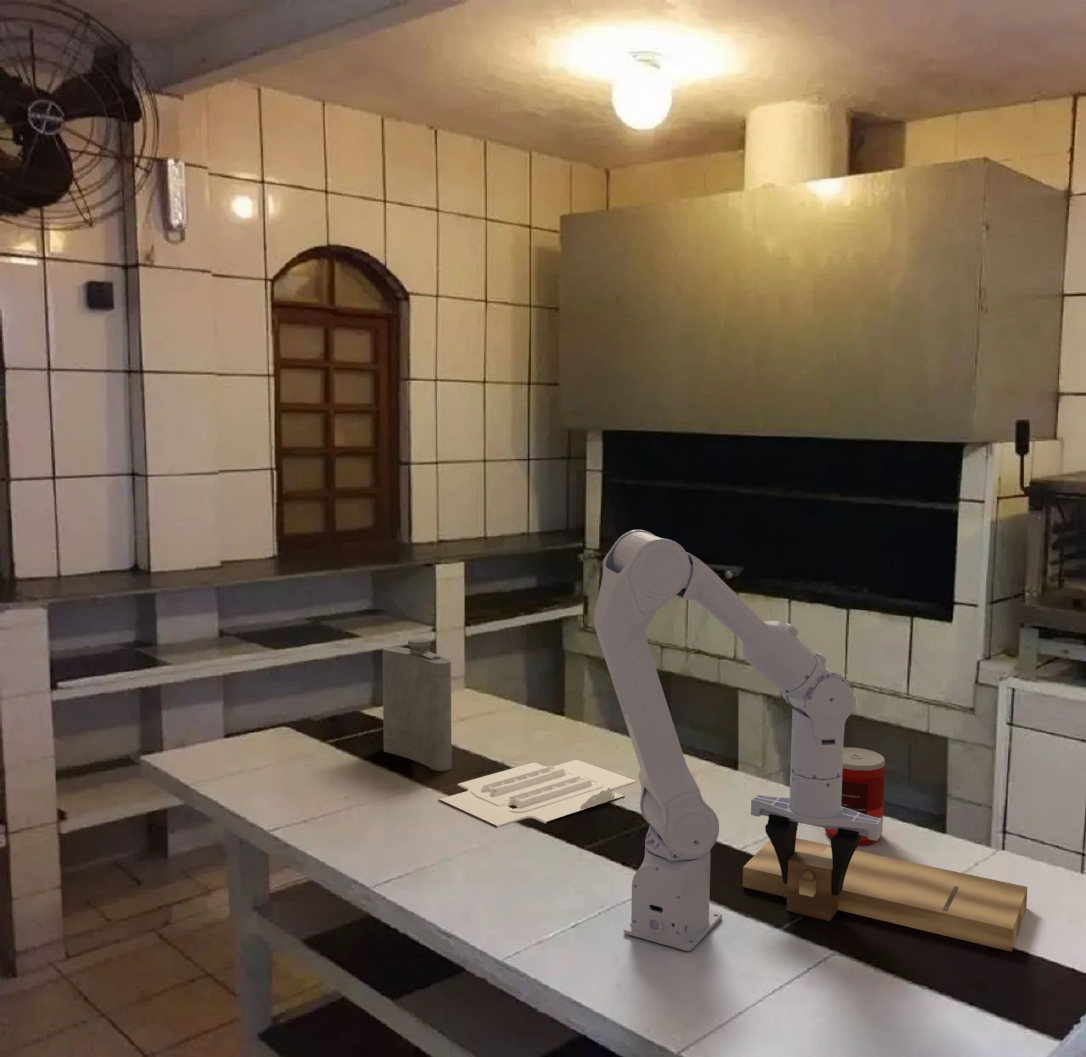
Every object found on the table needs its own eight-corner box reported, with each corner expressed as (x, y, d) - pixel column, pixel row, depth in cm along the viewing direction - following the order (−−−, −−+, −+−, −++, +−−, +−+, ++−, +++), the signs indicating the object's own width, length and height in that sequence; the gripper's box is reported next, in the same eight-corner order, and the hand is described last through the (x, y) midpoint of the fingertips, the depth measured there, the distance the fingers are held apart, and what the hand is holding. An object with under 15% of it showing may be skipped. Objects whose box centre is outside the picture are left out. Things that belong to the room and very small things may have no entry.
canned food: (870, 823, 149) (873, 746, 148) (891, 846, 141) (894, 765, 140) (816, 823, 149) (818, 747, 148) (833, 846, 141) (836, 765, 140)
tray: (424, 799, 160) (425, 774, 159) (561, 766, 178) (562, 744, 178) (513, 840, 145) (514, 813, 144) (652, 799, 163) (653, 775, 163)
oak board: (1011, 951, 114) (1012, 929, 113) (742, 886, 129) (743, 866, 129) (1026, 907, 124) (1027, 886, 124) (775, 852, 139) (776, 833, 139)
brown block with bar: (827, 924, 119) (829, 873, 119) (783, 913, 122) (785, 863, 121) (853, 887, 129) (855, 839, 128) (812, 878, 131) (814, 831, 131)
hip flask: (379, 750, 181) (378, 633, 179) (399, 744, 184) (397, 630, 182) (440, 772, 170) (439, 648, 168) (459, 766, 173) (459, 644, 170)
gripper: (890, 772, 121) (885, 887, 122) (766, 751, 128) (763, 860, 130) (874, 790, 115) (869, 912, 116) (745, 767, 122) (742, 881, 124)
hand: (812, 886), depth 123 cm, fingers closed on brown block with bar, 5 cm apart
